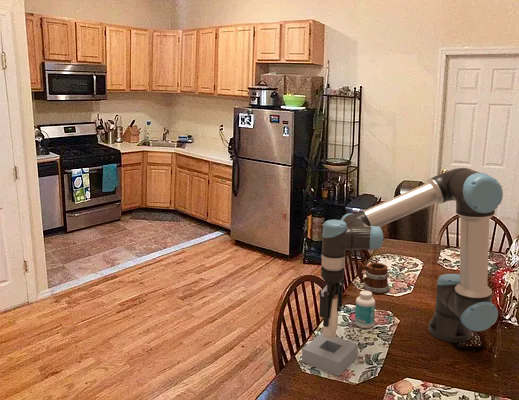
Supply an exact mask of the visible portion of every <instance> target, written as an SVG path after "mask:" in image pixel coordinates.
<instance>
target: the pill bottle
mask: <svg viewBox="0 0 519 400" xmlns="http://www.w3.org/2000/svg"><path fill="white" fill-rule="evenodd" d="M375 310H376V300H375V298H374V297H373V294H372V292H370V291H366V290H361V291H360V292H359V296H357V297H356V299H355V313H354V314H355V315H354V317H355V318H354V323H355V325H356V327H359V328H360V329H361V328H362V329H370V328H372V327H374V326H375V325H374V324H375V313H376V311H375Z"/></svg>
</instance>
